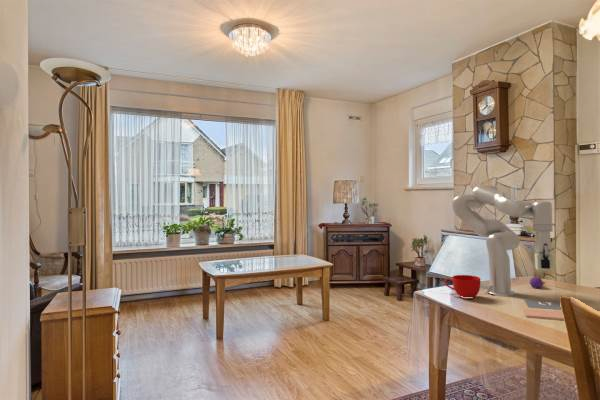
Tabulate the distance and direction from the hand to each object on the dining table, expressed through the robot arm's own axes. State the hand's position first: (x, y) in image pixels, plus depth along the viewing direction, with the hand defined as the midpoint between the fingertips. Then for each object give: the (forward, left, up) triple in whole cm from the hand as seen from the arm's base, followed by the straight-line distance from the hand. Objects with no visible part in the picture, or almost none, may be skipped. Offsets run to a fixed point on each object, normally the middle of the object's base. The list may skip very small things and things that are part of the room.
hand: (543, 266), depth 167 cm
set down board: (-4, -18, -17) cm, 25 cm away
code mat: (0, -2, -17) cm, 18 cm away
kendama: (+3, +40, -18) cm, 44 cm away
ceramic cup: (-35, +3, -18) cm, 39 cm away
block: (0, 0, -1) cm, 1 cm away
